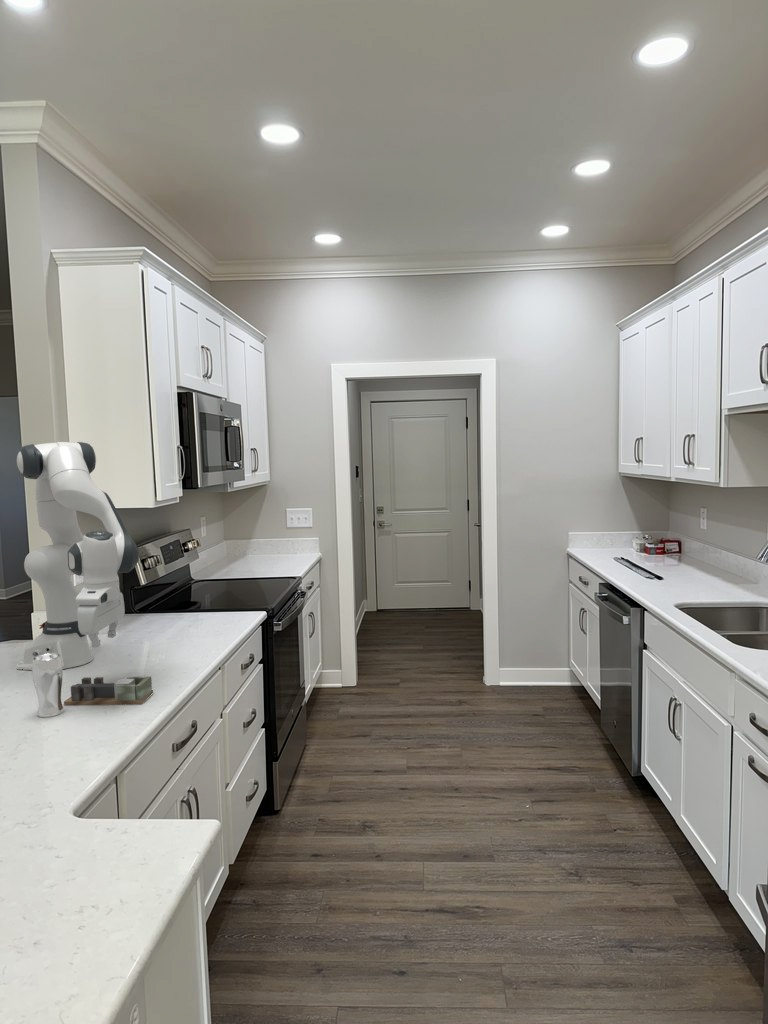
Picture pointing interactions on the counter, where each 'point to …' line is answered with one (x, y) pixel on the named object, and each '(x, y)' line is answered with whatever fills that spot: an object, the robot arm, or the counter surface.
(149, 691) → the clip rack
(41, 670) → the beer glass
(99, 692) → the dark grey square bar
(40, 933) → the counter surface
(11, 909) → the counter surface
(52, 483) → the robot arm
